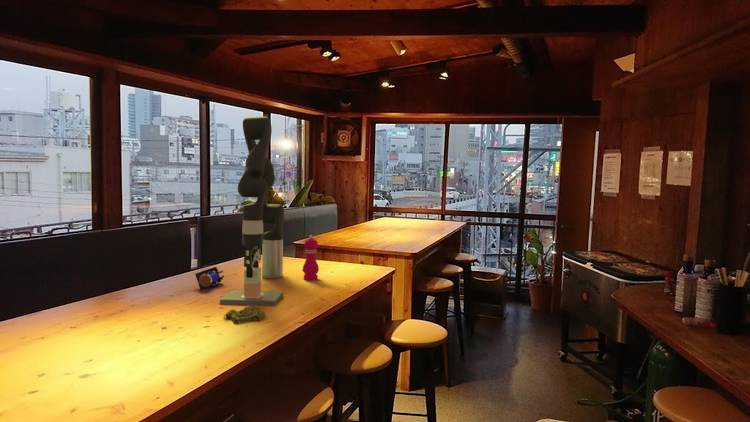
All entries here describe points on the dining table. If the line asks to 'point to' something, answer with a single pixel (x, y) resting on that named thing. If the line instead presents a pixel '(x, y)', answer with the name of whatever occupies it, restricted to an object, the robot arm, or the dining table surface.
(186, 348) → the dining table surface
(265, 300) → the base plate
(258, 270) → the sage block
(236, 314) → the spaceship toy
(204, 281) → the character figurine
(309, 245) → the pepper mill
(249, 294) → the terracotta block
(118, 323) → the dining table surface
